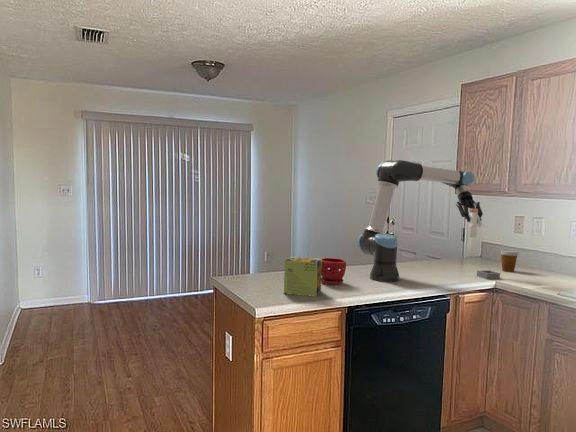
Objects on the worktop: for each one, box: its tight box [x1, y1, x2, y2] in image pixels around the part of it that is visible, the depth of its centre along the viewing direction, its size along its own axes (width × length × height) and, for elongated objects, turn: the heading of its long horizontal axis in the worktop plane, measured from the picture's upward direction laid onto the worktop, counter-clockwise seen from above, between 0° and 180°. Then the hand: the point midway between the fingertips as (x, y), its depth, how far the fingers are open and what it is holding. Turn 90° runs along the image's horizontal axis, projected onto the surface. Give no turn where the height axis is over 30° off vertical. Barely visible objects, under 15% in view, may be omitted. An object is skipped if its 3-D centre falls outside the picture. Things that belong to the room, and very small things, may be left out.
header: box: [476, 269, 501, 280], centre depth 238 cm, size 8×8×4 cm
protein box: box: [283, 256, 322, 297], centre depth 202 cm, size 10×15×16 cm
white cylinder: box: [468, 207, 478, 238], centre depth 247 cm, size 4×4×16 cm
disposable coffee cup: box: [500, 249, 519, 273], centre depth 262 cm, size 10×10×12 cm
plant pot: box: [321, 257, 347, 286], centre depth 222 cm, size 13×13×12 cm
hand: (476, 225), depth 243 cm, fingers closed on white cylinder, 4 cm apart
